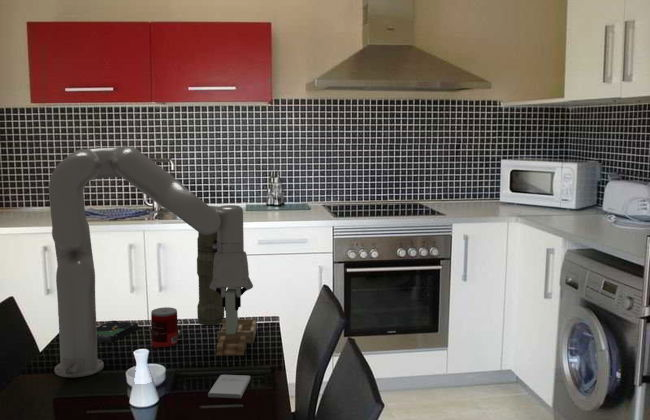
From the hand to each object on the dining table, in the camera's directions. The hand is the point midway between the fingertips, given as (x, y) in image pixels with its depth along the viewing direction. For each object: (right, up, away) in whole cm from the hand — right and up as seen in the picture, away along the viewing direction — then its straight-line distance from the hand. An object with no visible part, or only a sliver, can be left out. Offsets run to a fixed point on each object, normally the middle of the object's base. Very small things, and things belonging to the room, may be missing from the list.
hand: (231, 309), depth 190 cm
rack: (0, -12, +14) cm, 18 cm away
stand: (0, -13, +1) cm, 13 cm away
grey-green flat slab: (0, -6, +1) cm, 6 cm away
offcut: (-2, -9, +10) cm, 14 cm away
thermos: (-11, -10, +29) cm, 33 cm away
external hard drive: (+3, -17, -25) cm, 30 cm away
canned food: (-21, -13, +7) cm, 26 cm away
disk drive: (-41, -12, +18) cm, 46 cm away
